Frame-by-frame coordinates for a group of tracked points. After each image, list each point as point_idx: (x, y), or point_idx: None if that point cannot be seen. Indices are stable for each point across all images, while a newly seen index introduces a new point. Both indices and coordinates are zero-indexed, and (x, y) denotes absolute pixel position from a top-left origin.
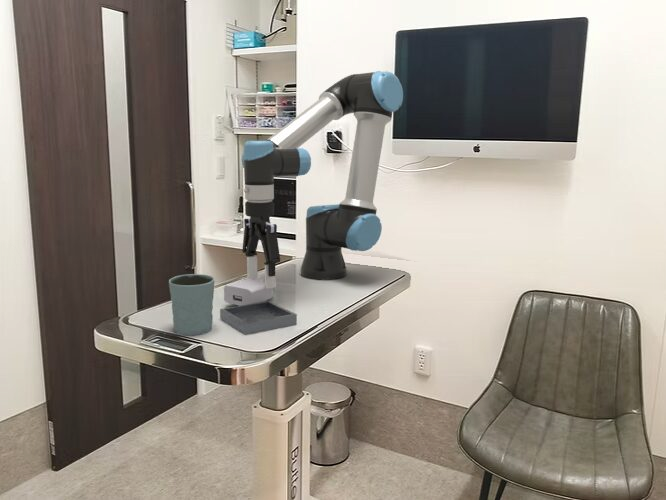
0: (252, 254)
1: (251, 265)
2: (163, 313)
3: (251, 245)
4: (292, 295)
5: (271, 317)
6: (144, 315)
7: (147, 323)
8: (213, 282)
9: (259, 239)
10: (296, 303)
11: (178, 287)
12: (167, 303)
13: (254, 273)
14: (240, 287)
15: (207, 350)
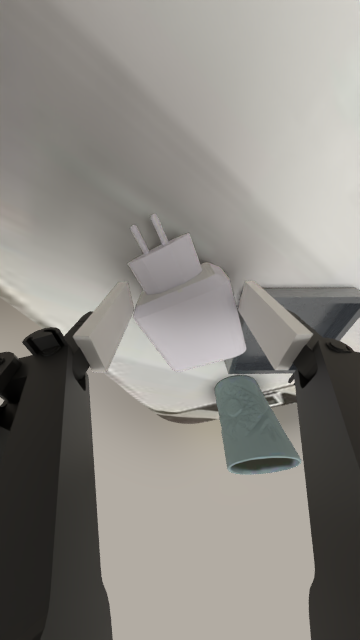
0: (76, 359)
1: (116, 331)
2: (161, 392)
3: (87, 444)
4: (164, 130)
5: (302, 319)
6: (159, 403)
7: (187, 405)
8: (295, 454)
9: (316, 598)
10: (252, 187)
11: (270, 467)
12: (120, 383)
13: (123, 301)
14: (213, 360)
15: None
